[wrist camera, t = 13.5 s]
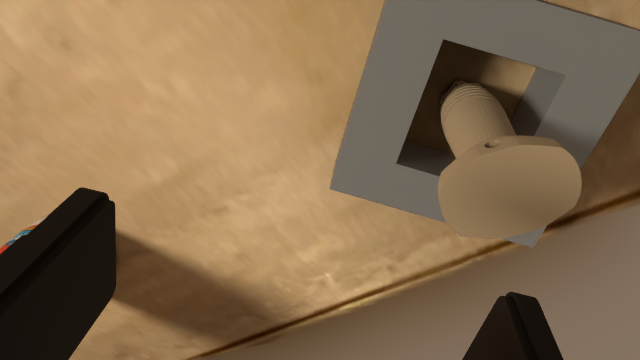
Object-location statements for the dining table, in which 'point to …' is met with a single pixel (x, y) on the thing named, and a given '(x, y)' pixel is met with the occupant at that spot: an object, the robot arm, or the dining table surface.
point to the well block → (497, 38)
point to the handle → (500, 170)
